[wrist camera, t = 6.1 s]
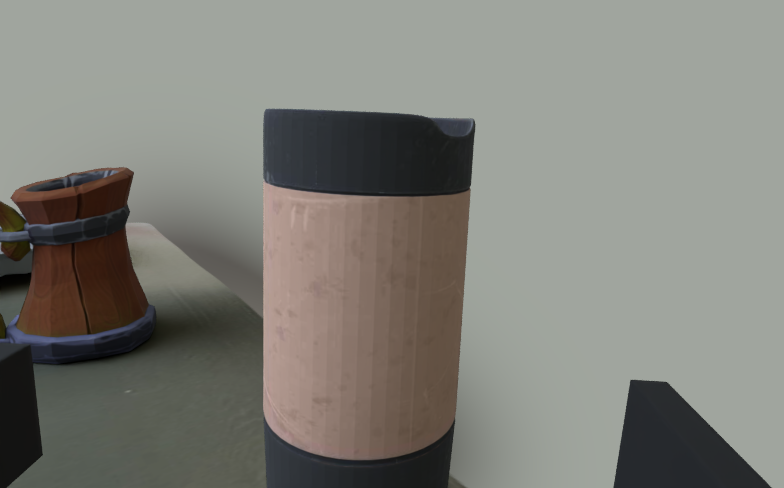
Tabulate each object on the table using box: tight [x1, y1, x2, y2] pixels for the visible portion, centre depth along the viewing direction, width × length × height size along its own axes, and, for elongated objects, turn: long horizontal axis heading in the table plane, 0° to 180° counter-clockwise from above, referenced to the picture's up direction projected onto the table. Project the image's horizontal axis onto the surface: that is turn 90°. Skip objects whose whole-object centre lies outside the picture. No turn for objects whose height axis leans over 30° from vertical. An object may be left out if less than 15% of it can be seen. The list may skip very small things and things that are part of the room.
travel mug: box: [263, 109, 475, 488], centre depth 21 cm, size 8×8×20 cm
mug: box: [0, 167, 156, 364], centre depth 44 cm, size 18×12×15 cm, turn 125°
